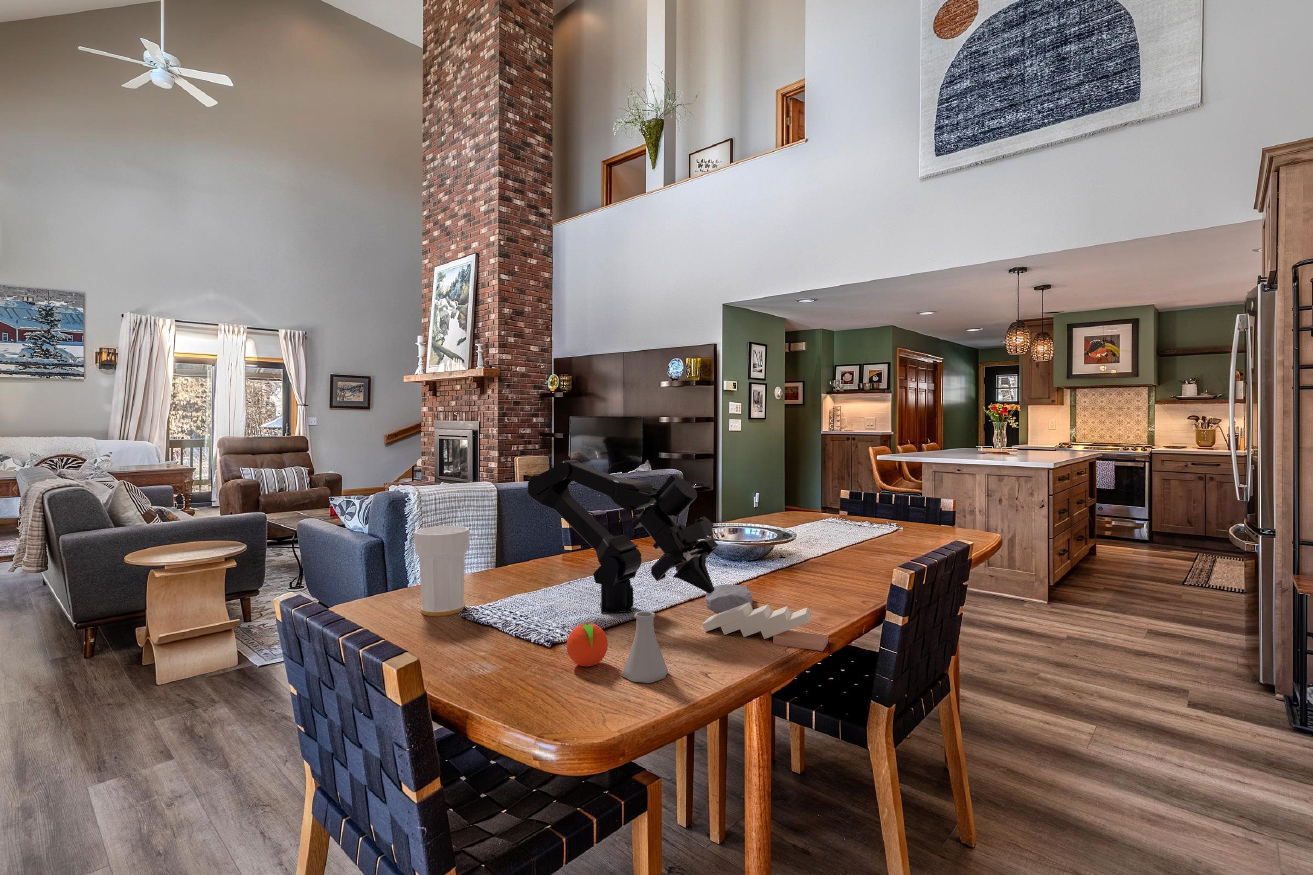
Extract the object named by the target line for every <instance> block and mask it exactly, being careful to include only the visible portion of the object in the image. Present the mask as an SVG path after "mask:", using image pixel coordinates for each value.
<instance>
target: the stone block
mask: <svg viewBox="0 0 1313 875" xmlns="http://www.w3.org/2000/svg"><path fill="white" fill-rule="evenodd" d="M713 587H714V591H713V592H712V593H710V594H709V593H707V592H706V594H705V602H706V605H707V608H708V609H709V610H710V611H712V612H713V613H716V614H719V613H721V612H724V611H727V610H729V609H732V608H735V607H738V606H740V605H743V604H746V603H748V602H750V604H751V606H752V607H753V595H752V592H751V591H750V590H749V589H748V585H747V584H744V585H739V584H727V583H726V584H719V585H716V586H713Z"/></svg>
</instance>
